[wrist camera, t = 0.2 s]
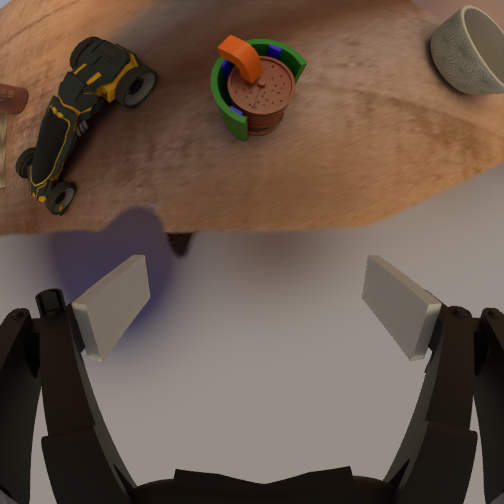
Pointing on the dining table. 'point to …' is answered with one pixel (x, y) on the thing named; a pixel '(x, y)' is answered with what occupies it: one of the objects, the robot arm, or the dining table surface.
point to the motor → (254, 84)
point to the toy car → (80, 113)
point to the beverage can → (12, 99)
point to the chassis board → (2, 146)
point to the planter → (470, 52)
